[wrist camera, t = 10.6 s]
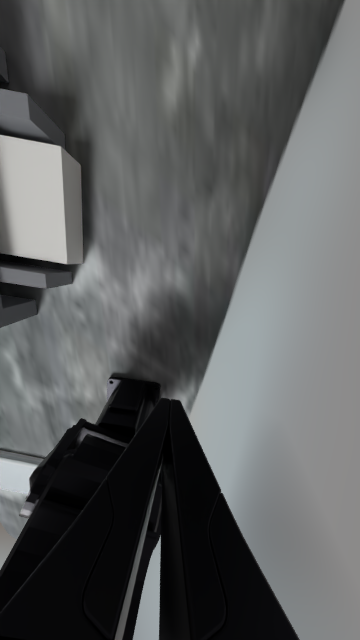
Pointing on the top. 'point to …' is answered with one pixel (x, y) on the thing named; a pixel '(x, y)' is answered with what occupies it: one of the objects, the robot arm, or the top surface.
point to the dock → (33, 124)
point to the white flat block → (40, 202)
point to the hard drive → (16, 471)
